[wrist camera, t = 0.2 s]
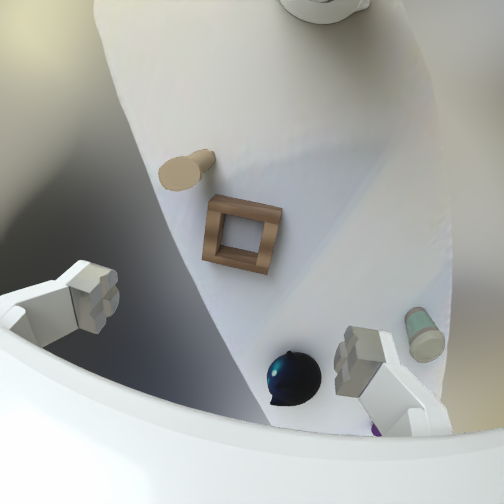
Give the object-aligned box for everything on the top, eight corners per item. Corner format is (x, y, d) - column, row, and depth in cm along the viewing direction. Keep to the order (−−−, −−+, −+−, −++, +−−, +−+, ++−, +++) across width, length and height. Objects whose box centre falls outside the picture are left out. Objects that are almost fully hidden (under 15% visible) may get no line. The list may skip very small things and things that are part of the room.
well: (215, 194, 58) (208, 202, 53) (282, 208, 57) (280, 217, 53) (208, 248, 63) (201, 259, 59) (269, 262, 63) (267, 274, 58)
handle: (227, 165, 55) (203, 185, 42) (195, 172, 56) (164, 194, 43) (220, 140, 53) (194, 153, 40) (189, 148, 54) (154, 164, 41)
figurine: (273, 336, 72) (268, 376, 61) (327, 343, 71) (329, 383, 60) (266, 375, 79) (260, 412, 68) (313, 381, 78) (313, 418, 66)
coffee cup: (397, 309, 64) (409, 344, 53) (429, 297, 61) (446, 330, 50) (401, 334, 67) (413, 369, 56) (432, 323, 64) (447, 356, 53)
